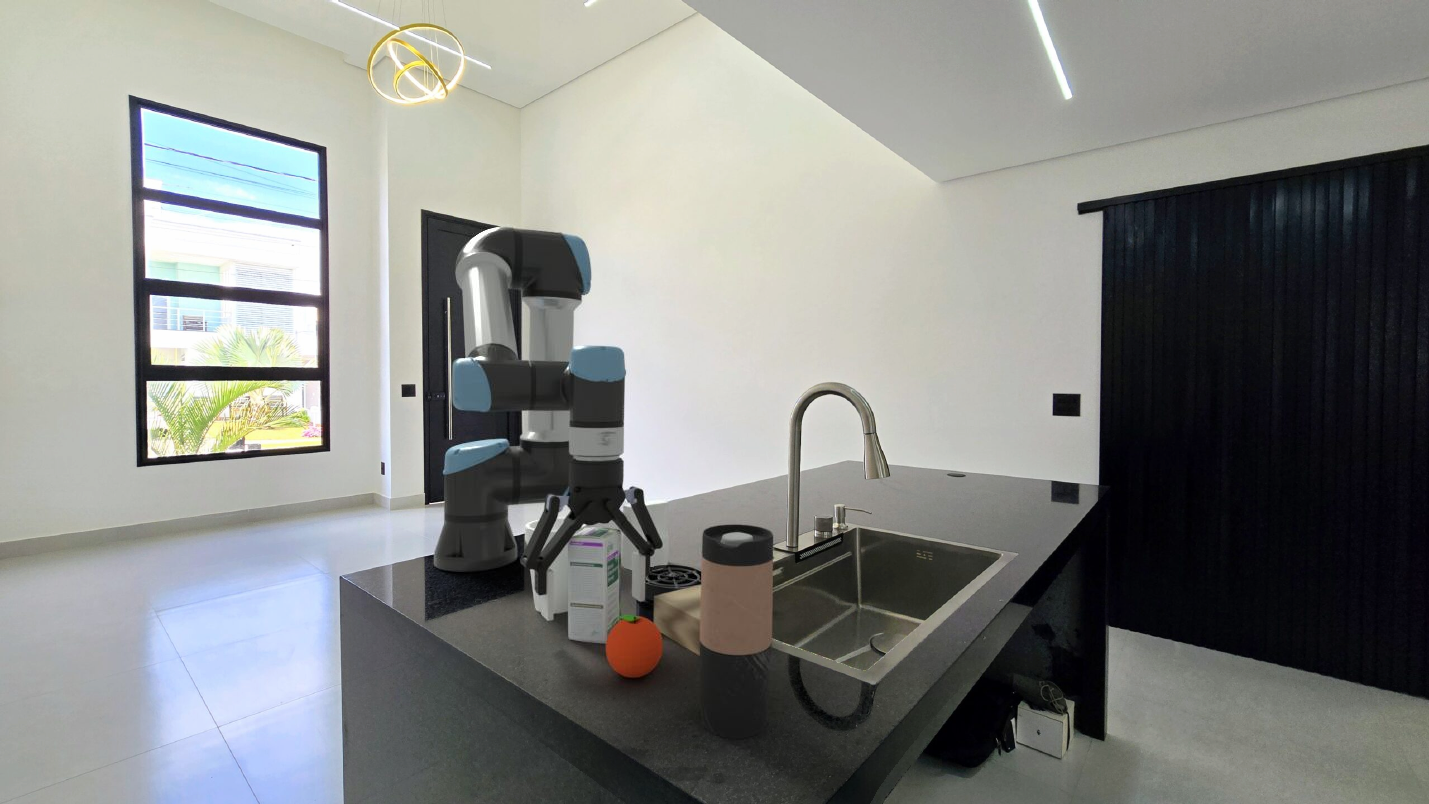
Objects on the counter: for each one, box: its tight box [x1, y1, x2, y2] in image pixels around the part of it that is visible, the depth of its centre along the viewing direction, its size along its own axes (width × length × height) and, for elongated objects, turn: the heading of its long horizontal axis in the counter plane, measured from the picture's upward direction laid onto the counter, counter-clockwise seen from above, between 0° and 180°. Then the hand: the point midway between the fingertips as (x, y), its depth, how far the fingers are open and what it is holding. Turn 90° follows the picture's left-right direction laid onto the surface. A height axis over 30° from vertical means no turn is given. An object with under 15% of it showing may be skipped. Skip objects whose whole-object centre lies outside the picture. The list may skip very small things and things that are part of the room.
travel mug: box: [699, 523, 774, 739], centre depth 64 cm, size 8×8×20 cm
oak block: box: [653, 584, 701, 657], centre depth 87 cm, size 11×11×5 cm
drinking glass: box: [621, 499, 670, 570], centre depth 118 cm, size 9×9×12 cm
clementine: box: [605, 614, 664, 679], centre depth 74 cm, size 8×7×7 cm
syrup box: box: [567, 526, 622, 645], centre depth 85 cm, size 6×6×14 cm
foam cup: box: [524, 516, 589, 615], centre depth 95 cm, size 10×9×13 cm
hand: (594, 607), depth 85 cm, fingers open, 13 cm apart
